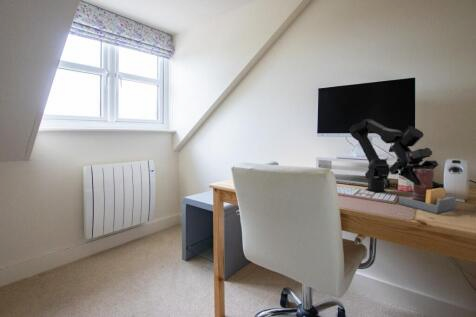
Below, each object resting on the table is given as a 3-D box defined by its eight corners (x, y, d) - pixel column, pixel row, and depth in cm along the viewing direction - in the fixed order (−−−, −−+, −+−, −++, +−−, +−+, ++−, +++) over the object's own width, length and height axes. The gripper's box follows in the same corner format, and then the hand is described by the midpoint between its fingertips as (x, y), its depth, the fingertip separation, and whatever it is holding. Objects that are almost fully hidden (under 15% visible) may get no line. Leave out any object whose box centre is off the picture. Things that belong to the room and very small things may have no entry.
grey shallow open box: (398, 204, 104) (399, 192, 103) (417, 200, 109) (418, 189, 108) (436, 214, 91) (438, 200, 91) (456, 210, 96) (457, 197, 96)
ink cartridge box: (407, 192, 124) (409, 162, 123) (397, 189, 129) (399, 161, 127) (419, 190, 127) (421, 161, 126) (409, 188, 132) (411, 160, 130)
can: (433, 205, 98) (434, 170, 96) (413, 204, 102) (414, 169, 99) (431, 200, 103) (433, 167, 101) (412, 199, 107) (413, 166, 104)
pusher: (425, 208, 96) (426, 189, 96) (439, 205, 100) (440, 187, 99) (432, 209, 94) (433, 191, 93) (446, 206, 98) (448, 188, 97)
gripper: (397, 141, 101) (419, 173, 92) (436, 140, 105) (461, 171, 95) (381, 158, 110) (399, 189, 100) (417, 157, 113) (439, 187, 104)
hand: (425, 184), depth 100 cm, fingers closed on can, 5 cm apart
